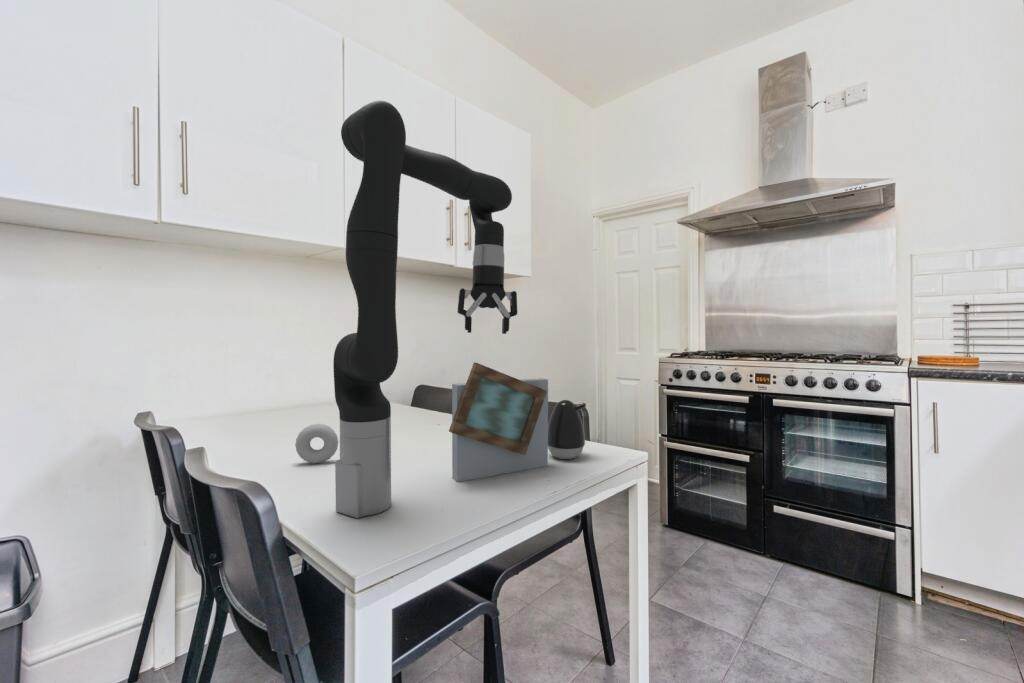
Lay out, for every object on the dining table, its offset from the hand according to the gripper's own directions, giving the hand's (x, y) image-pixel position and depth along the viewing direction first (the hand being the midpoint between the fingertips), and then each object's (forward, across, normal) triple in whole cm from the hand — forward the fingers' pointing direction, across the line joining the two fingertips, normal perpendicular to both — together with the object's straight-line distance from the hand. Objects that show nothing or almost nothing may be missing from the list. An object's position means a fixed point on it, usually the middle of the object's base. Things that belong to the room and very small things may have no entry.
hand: (487, 333), depth 107 cm
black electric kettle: (+32, +23, +6) cm, 40 cm away
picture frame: (+25, 0, -7) cm, 26 cm away
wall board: (+33, +4, -3) cm, 33 cm away
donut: (+34, -40, +13) cm, 54 cm away
